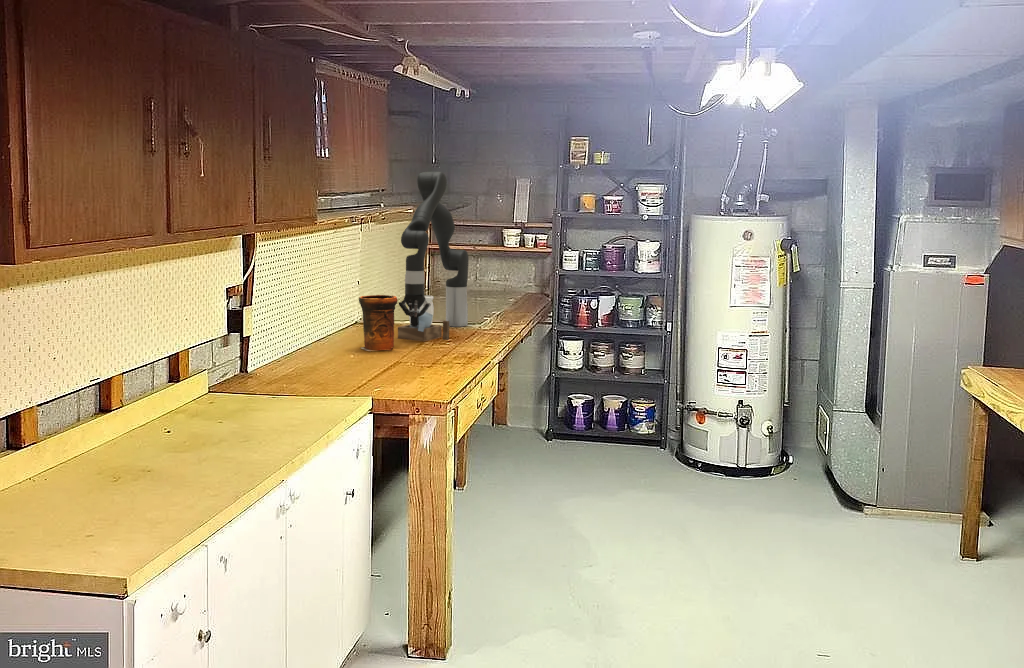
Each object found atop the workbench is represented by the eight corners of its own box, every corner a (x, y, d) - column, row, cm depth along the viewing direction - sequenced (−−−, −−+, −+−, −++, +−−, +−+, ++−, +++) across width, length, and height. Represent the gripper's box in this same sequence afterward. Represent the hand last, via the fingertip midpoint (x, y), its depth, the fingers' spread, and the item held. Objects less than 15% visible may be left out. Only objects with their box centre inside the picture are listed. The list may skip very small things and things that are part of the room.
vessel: (365, 352, 364) (365, 298, 361) (354, 347, 377) (354, 295, 374) (403, 350, 370) (402, 297, 368) (391, 345, 383) (390, 294, 380)
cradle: (415, 335, 405) (415, 316, 404) (454, 339, 396) (454, 320, 395) (396, 340, 393) (395, 320, 392) (435, 344, 384) (435, 324, 383)
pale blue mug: (408, 329, 398) (413, 308, 396) (427, 334, 400) (432, 313, 397) (407, 341, 384) (412, 319, 382) (427, 345, 385) (432, 324, 383)
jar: (435, 330, 420) (435, 295, 418) (431, 333, 410) (431, 298, 408) (411, 329, 421) (410, 294, 419) (406, 333, 411) (405, 297, 409)
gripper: (434, 282, 386) (433, 326, 388) (402, 280, 389) (401, 324, 392) (427, 283, 379) (427, 328, 381) (395, 282, 382) (395, 326, 384)
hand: (414, 326), depth 386 cm, fingers closed
